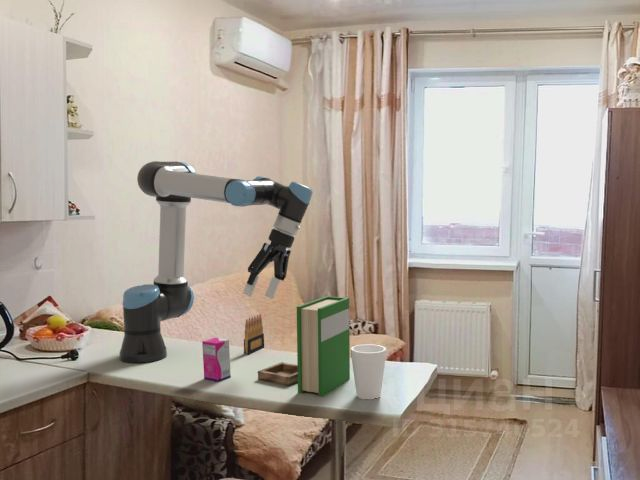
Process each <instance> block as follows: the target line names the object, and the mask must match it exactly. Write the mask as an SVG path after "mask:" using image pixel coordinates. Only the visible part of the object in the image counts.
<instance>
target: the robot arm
mask: <svg viewBox="0 0 640 480" xmlns="http://www.w3.org/2000/svg"><path fill="white" fill-rule="evenodd" d="M136 181H137V184H138V187H139V188H140V190H141V192H143V193H144V194H145V195H147V196H149V197H153V198H155V201H156V203H157V204H158V205H159V208H160V209H159V210H160V212H159V236H158V238H159V239H158V240H159V242H158V243H159V244H158V246H159V247H158V275H157V276H156V277H154V278H153V283H152V284H151V283H149V284H141V285H135V286H132V287H129V288H127V289H126V290H125V291H124V292H123V295H122V298H123V299H122V309H123V313H122V315H123V330H124V331H123V333H124V336H123V339H122V344H121V347H120V350H119V360H120V361H122V362H123V363H124V362H125V363H133V364H134V363H140V364H141V363H151V362H156V361H159V360H162V359H164V358H166V357H167V356H168V355H167V354H168V353H167V346H166V345H165V341H164V338H163V336H162V332H161V322H164V321H167V320H171V319H175V318H177V319H178V318H179V317H181V316H183V315H186V314H187V313H189V311H191V308H192V307H193V305H194V303H195V302H194V301H195V294H194V290H192V287H191V286H190V285H189V280H188V278H187V277H186V276H185V275H184V273H185V272H184V271H185V248H186V247H185V246H186V221H187V220H186V216H187V215H186V214H187V207H188V206H189V205H190V204H191V203H192V202H191V201H192V200H191V199H198V200H206V201H212V202H217V203H218V202H220V203H225V204H230V205H231V206H235V207H242V208H243V207H247V206H250V207H251V206H262V205H268V206H270V207H273V208H276V209H278V210H279V211H278V214H277V216H276V219H275V221H274V223H273V225H272V226H273V227H274V228H272V229H271V231H270V233H269V236H268V240H269V241H270V243H268V242H264V243H263V244H262V247H261V249H260V250H259V251H258V253H257V255H256V256H255V257H254V258H253V260H251V261H252V262H251V263H250V264H249V266H248V267H247V272H248V273H249V276H248V279H247V282H246V284H245V287H244V288H243V292H242V294H243V295H245V296H248V297H252V296H253V293H254V290H255V288H256V285H257V284H258V281H259V278H260V276H259V274H260V273H261V272H262V271H263V270H264V269H265V268H266V267H267V266H268V265H269V264H270V263H272V262H273V268H274V269H273V270H274V271H273V273H274V275H273V276H272V277H271V279H270V282H269V284H268V287H267V290H266V292H265V294H264V297H266V298H268V299H270V300H273V299H274V297H275V295H276V292H277V290H278V287H279V285H280V282H281V281H282V282H283V281H285V279H286V277H287V272H288V265H289V258H290V255H291V252H292V251H291V250H290V248H292V247H293V244H294V241H295V239H296V238H295V236H296V235H297V233H298V231H299V230H300V226H301V224H302V220H303V218H304V216H305V214H306V212H307V209H308V207H309V205H310V202H311V198H312V196H313V189H311V187H308V186H306V185H303V184H301V183H299V182H295V181H291V182H290V183H289V185H285V184H283V183H281V182H278V181H275V180H273V179H271V178H269V177H265V176H262V175H259V176H256V177H255V178H253V179H250V180H247V179H239V178H230V177H223V176H216V175H207V174H200V173H197V172H196V170H195V169H194V168H193V166H192V165H191V164H189V163H186V162H183V161H156V160H154V161H150V162H147V163H145V164H144V165H143V166H142V167H141V168H140V169H139V171H138V173H137V180H136Z"/></svg>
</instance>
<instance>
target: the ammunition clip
mask: <svg viewBox="0 0 640 480" xmlns="http://www.w3.org/2000/svg"><path fill="white" fill-rule="evenodd" d="M244 325H245V326H244V339H243V355H246V356H247V355H248V356H249V355H252V354H254V353H255V352H256V353H257V352H258V351H260V350H262V349H265V334H264V327H263V317H262V314H261V313H260V314H259V315H258V314H257V315H254V317H253V316H251V317H248V319H247V318H246V319H245V323H244Z"/></svg>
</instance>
